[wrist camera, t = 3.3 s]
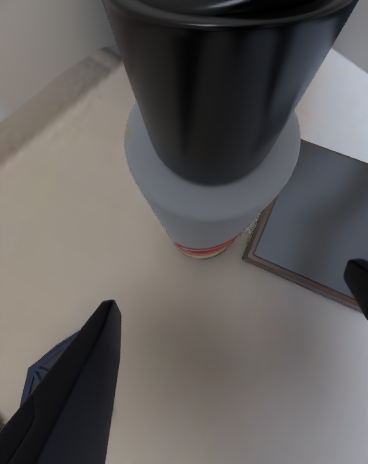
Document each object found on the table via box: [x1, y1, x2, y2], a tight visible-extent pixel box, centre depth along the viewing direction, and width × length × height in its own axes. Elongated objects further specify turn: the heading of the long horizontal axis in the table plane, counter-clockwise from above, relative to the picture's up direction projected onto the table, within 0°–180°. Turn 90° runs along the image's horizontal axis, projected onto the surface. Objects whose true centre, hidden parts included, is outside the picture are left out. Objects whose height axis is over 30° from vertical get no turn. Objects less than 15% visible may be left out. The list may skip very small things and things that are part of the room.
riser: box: [242, 139, 368, 313], centre depth 20 cm, size 11×12×2 cm
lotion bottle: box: [102, 0, 359, 259], centre depth 12 cm, size 6×6×20 cm
